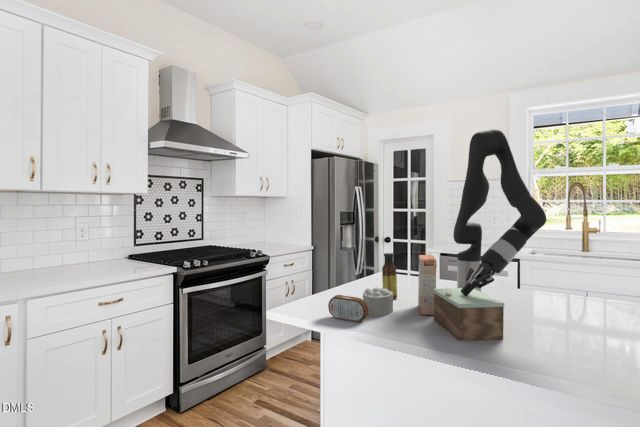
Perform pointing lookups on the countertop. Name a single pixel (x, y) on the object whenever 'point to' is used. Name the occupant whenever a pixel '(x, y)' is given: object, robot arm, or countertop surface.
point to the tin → (348, 308)
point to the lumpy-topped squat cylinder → (378, 301)
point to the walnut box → (469, 320)
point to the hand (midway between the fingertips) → (463, 293)
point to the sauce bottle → (389, 274)
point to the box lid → (467, 298)
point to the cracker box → (426, 284)
